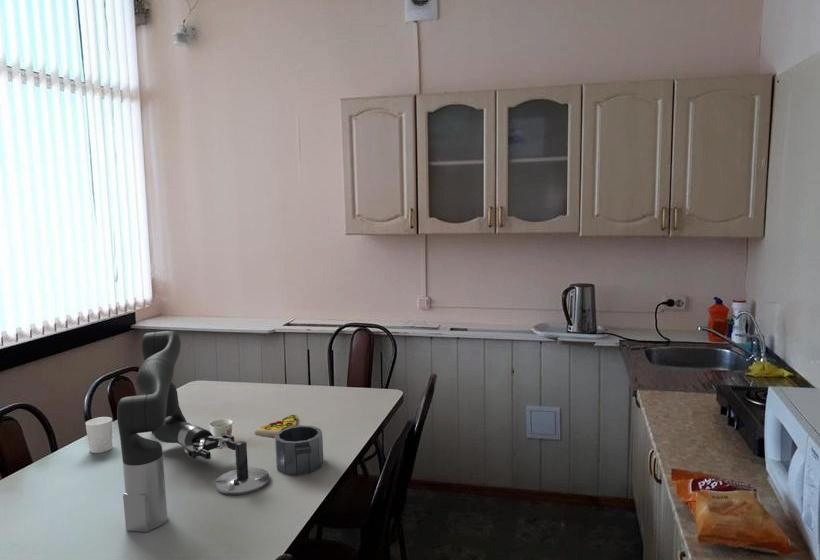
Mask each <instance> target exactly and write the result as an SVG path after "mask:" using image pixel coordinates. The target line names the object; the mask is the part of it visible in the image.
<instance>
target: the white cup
mask: <svg viewBox="0 0 820 560" xmlns="http://www.w3.org/2000/svg"><path fill="white" fill-rule="evenodd" d="M85 428H86V436H87V441H88V446H89V451H90V453H91V454H100V453H104V452H105V453H106V452H108V451H110V450H112V449H113V418H112V417H111V416H100V417H94V418H92V419H91V418H90V419H89V420H87V421H85Z"/></svg>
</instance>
